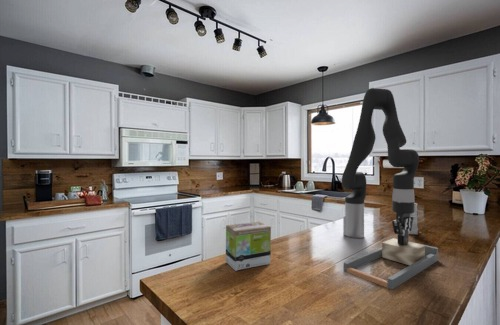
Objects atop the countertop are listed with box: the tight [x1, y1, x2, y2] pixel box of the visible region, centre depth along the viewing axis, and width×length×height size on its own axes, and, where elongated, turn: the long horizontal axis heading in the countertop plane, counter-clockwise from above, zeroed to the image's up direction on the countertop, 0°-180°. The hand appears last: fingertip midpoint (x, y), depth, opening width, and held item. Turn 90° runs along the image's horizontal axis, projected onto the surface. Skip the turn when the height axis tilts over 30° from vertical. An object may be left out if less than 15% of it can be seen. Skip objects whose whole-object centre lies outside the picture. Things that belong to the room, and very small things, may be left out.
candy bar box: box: [408, 202, 419, 236], centre depth 143 cm, size 11×5×16 cm, turn 168°
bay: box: [342, 237, 439, 290], centre depth 99 cm, size 17×38×5 cm, turn 127°
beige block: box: [381, 229, 425, 266], centre depth 104 cm, size 12×9×12 cm
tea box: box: [225, 221, 272, 272], centre depth 102 cm, size 15×10×15 cm
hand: (403, 243), depth 104 cm, fingers closed on beige block, 3 cm apart
